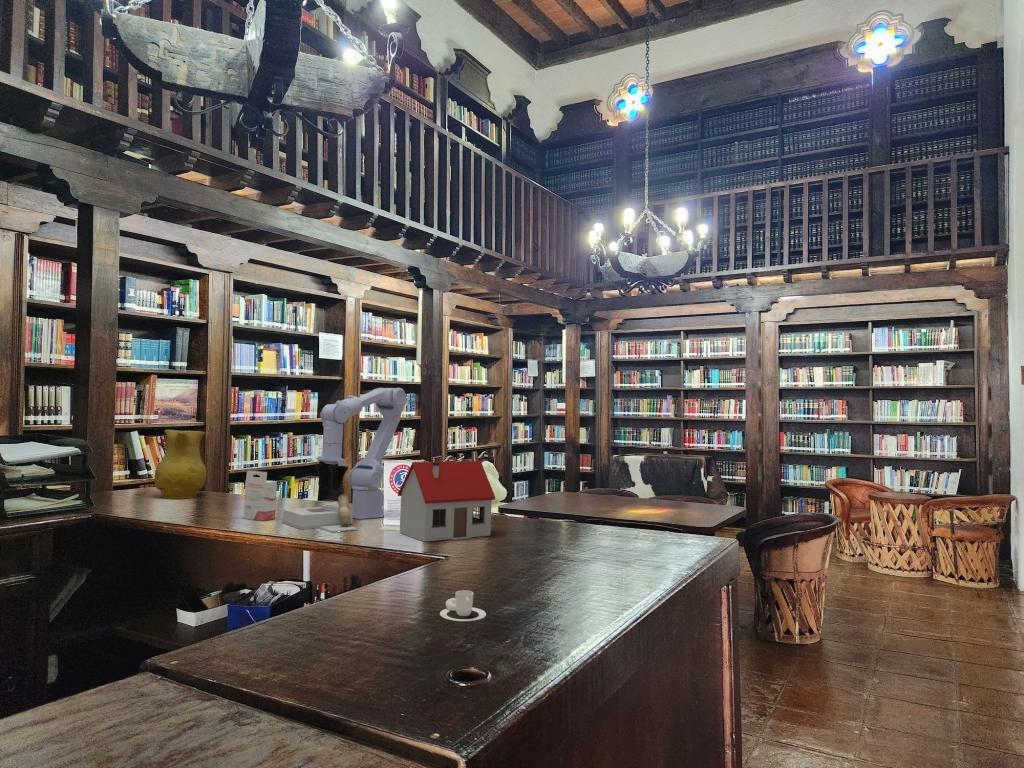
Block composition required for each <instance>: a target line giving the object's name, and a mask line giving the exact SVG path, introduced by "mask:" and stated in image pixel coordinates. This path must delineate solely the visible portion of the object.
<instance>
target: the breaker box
mask: <svg viewBox="0 0 1024 768" xmlns="http://www.w3.org/2000/svg"><path fill="white" fill-rule="evenodd" d="M350 520H351V524H352V525H353V511H352V510H350ZM281 523H282V524H285V525H288V526H290V527H293V528H296V529H299V530H310V529H312V528H313V529H319V528H320V527H323V526H333V525H340V517H339V506H334V505H327V506H312V507H300V508H296V507H295V508H285V509H283V508H282V522H281Z"/></svg>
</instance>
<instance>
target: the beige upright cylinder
mask: <svg viewBox="0 0 1024 768" xmlns="http://www.w3.org/2000/svg"><path fill="white" fill-rule="evenodd" d="M349 501H350V500H349V496H348V495H347V494H345V493H344V494H343V493H342V494H339V496H338V497H337V502H338V503H337V504H338V507H339V517H340V525H341V526H344V527H345V526H351V525H350V524H351V520H350V511H351V510H350V503H349Z"/></svg>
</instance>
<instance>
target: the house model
mask: <svg viewBox="0 0 1024 768" xmlns="http://www.w3.org/2000/svg"><path fill="white" fill-rule="evenodd" d="M398 490H399V491H398V492H397V497H400V513H399V514H400V516H399V517H400V518H399V520H400V521H399V533H400V534H402V535H405V536H408V537H411V538H413V539H417V540H418V541H421V542H424V543H425V542H426V543H427V542H432V541H433V542H435V541H436V542H438V541H447V540H452V541H455V540H456V541H457V540H468V539H472V538H476V537H488V536H491V532H492V531H491V529H492V527H491V526H492V524H491V523H492V504H493V503H492V501H495V500H496V495H495V493H494V490H493V489H492V485H491V483H490V481H489V478H488V475H487V473H486V471H485V468H484V465H483V463H482V461H481V460H473V461H472V460H471V461H470V460H469V461H468V460H467V461H466V460H463V461H462V460H460V461H459V460H458V461H457V460H456V461H451V460H450V461H449V460H448V461H412V463H411V464H410V467H409V469H408V471H407V473H406V476H405V477H404V479H403V482H402V484H401V485H400V488H399V489H398ZM474 512H475V515H474Z"/></svg>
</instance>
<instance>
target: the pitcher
mask: <svg viewBox="0 0 1024 768" xmlns="http://www.w3.org/2000/svg"><path fill="white" fill-rule="evenodd" d="M164 433H165V435H166V439H167V444H166V450H165V453H164V455H163V458H162V459H161V460H160V462H159V463H158V464H157V466H156V468H155V471H154V479H153V480H154V484H155V485H154V486H155V488H156V489H157V490H158V491H160V493H161V495H160V496H159V498H163V499H168V500H169V499H170V500H183V499H193V498H197V497H198V494H197V493H198V491H200V490H201V489H202V488H203V487H204V485H206V484H205V481H206V479H207V468H206V466H205V463H204V462H203V460H202V458H201V453H200V447H201V446H200V445H201V444H200V443H201V442H200V441H202V440H201V439H202V438H203V436H205V435H206V432H205V431H201V430H176V429H175V430H174V429H165V430H164Z"/></svg>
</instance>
